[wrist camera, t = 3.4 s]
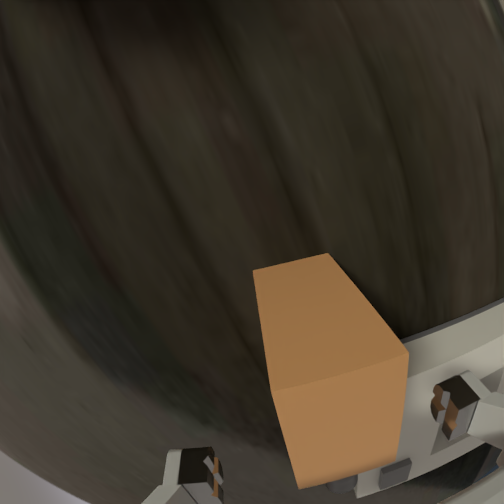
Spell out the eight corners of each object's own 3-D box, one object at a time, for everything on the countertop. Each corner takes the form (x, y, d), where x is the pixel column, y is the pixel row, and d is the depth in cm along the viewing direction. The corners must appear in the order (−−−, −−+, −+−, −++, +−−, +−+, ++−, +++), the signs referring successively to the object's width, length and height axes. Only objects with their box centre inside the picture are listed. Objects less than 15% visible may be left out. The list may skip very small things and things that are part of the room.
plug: (328, 252, 17) (408, 352, 8) (342, 380, 19) (388, 490, 11) (252, 270, 17) (271, 391, 8) (283, 395, 19) (306, 514, 11)
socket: (534, 282, 18) (566, 302, 14) (503, 400, 23) (522, 423, 19) (340, 358, 19) (361, 402, 15) (347, 469, 23) (358, 503, 19)
